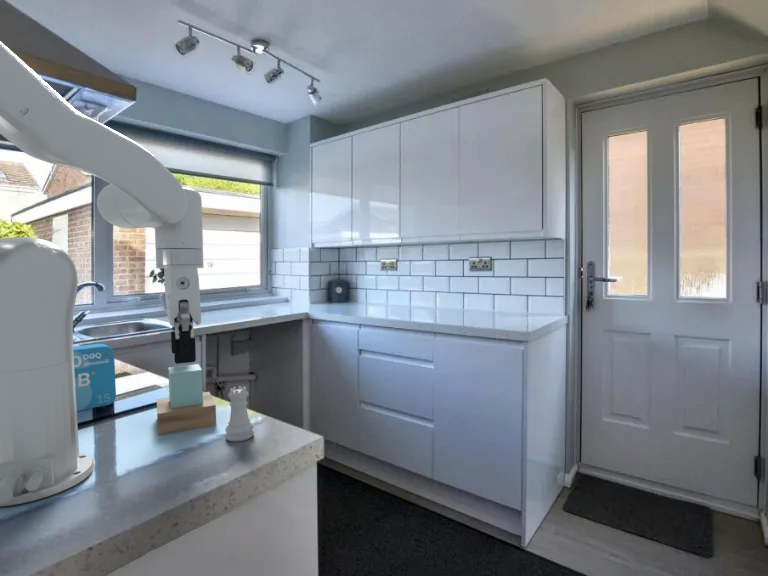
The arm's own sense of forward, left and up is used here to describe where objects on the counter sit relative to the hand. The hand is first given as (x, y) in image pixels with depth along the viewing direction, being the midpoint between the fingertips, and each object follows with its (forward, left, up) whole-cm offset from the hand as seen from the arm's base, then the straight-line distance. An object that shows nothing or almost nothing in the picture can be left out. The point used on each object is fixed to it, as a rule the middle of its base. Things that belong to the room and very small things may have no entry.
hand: (183, 357), depth 78 cm
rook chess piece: (-12, -7, -12) cm, 18 cm away
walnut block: (0, 0, -12) cm, 12 cm away
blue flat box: (+19, +18, -12) cm, 29 cm away
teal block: (0, 0, -8) cm, 8 cm away
